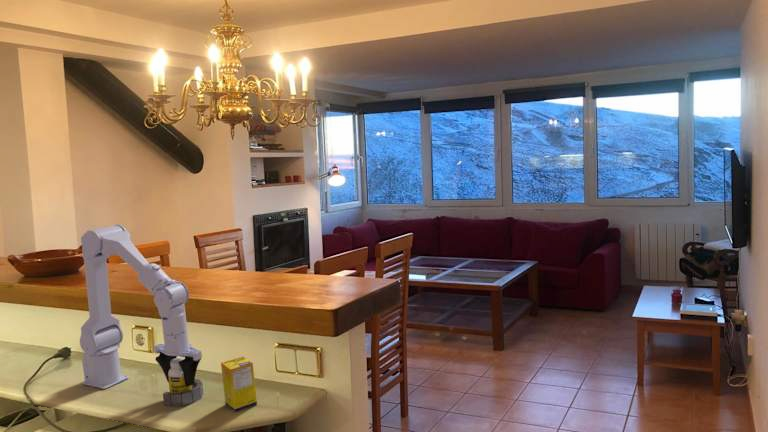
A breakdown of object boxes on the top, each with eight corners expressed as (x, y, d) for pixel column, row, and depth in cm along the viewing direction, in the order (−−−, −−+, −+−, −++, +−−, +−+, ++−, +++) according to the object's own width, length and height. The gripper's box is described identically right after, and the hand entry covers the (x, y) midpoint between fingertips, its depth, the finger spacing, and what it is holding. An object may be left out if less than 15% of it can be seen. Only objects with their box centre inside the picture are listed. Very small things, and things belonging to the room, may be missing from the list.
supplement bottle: (169, 403, 156) (166, 366, 155) (170, 393, 161) (167, 357, 160) (192, 400, 158) (189, 363, 156) (192, 390, 163) (189, 355, 161)
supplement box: (247, 397, 157) (243, 355, 156) (257, 404, 153) (253, 362, 151) (224, 404, 154) (220, 362, 152) (234, 412, 149) (230, 369, 148)
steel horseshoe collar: (164, 404, 156) (162, 393, 155) (193, 389, 164) (192, 378, 164) (182, 409, 153) (180, 397, 152) (211, 392, 161) (210, 381, 161)
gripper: (208, 329, 157) (213, 381, 159) (166, 323, 164) (172, 372, 166) (187, 339, 151) (193, 392, 153) (145, 332, 157) (151, 383, 160)
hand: (181, 383), depth 159 cm, fingers open, 6 cm apart
